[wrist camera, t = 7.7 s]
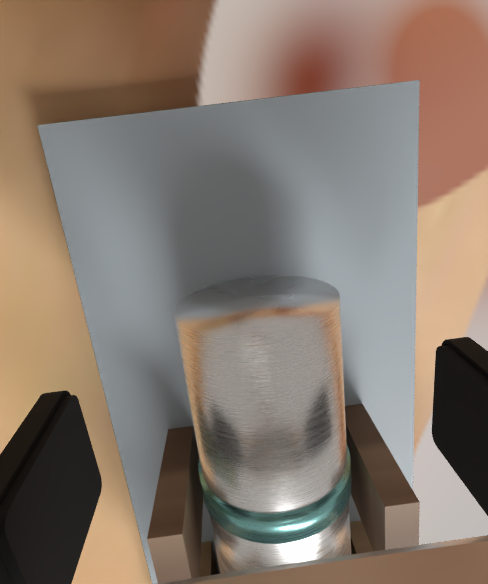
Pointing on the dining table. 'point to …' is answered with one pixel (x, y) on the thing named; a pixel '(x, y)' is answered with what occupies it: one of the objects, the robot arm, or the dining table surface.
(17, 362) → the dining table surface
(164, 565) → the guide
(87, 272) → the board
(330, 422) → the tube
